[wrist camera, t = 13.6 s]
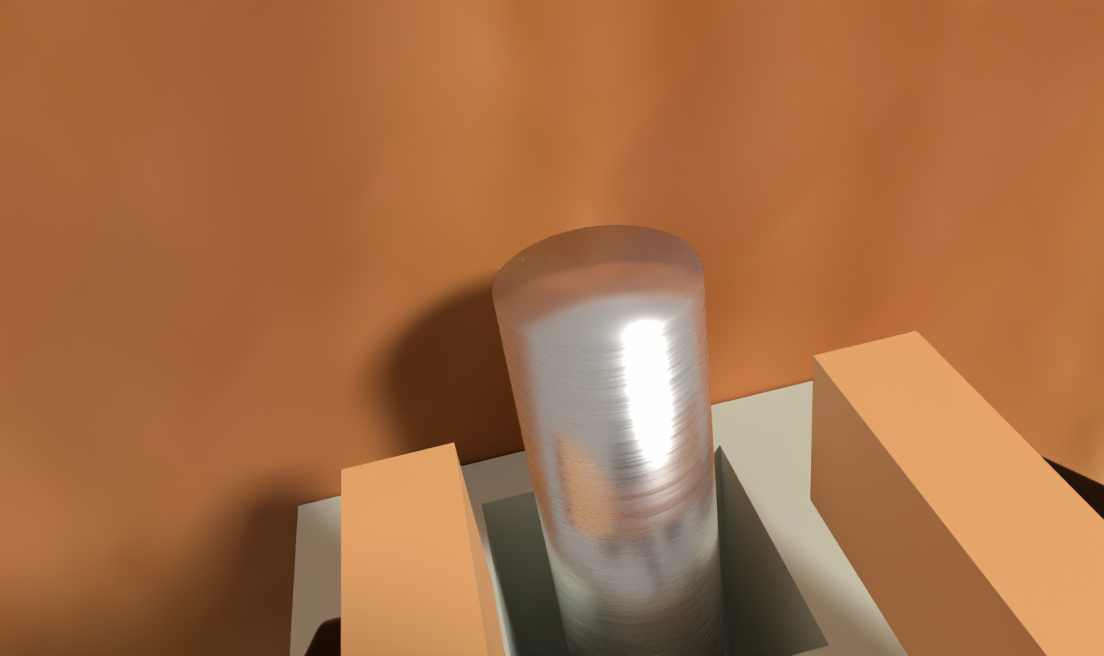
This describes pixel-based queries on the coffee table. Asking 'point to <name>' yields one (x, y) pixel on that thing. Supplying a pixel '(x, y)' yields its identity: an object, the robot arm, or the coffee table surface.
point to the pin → (618, 435)
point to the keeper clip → (841, 500)
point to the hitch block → (744, 546)
